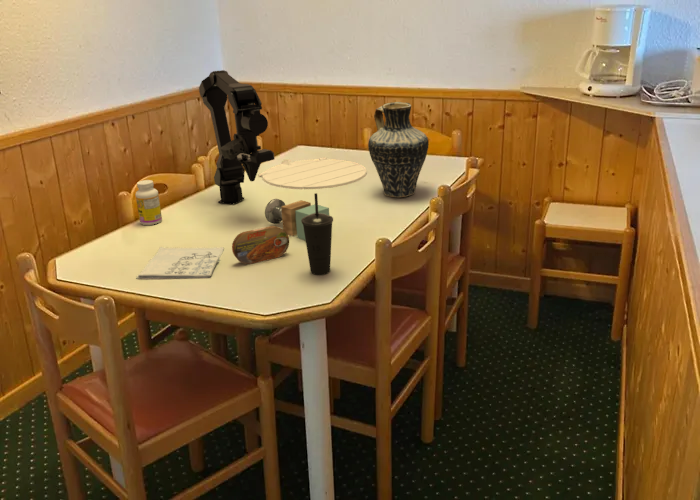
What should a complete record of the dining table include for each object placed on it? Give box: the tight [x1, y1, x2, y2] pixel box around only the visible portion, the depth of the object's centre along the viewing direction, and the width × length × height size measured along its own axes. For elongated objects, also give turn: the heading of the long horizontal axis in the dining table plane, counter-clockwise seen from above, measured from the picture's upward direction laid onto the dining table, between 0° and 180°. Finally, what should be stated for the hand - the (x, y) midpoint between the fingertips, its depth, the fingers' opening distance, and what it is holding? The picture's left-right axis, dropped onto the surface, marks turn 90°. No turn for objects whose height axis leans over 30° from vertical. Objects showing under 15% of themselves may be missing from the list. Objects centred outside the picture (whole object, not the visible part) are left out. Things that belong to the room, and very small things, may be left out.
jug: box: [367, 101, 429, 198], centre depth 214 cm, size 21×19×30 cm
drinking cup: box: [301, 193, 334, 276], centre depth 159 cm, size 8×8×20 cm
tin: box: [231, 225, 290, 265], centre depth 170 cm, size 15×3×8 cm, turn 117°
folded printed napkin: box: [135, 246, 225, 280], centre depth 171 cm, size 19×20×2 cm
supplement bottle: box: [135, 179, 163, 226], centre depth 200 cm, size 7×7×13 cm
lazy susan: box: [257, 156, 367, 190], centre depth 247 cm, size 40×39×3 cm
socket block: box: [295, 203, 330, 242], centre depth 184 cm, size 6×8×8 cm
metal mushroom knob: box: [264, 198, 296, 225], centre depth 192 cm, size 11×7×7 cm
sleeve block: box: [281, 200, 311, 237], centre depth 189 cm, size 4×8×8 cm, turn 136°
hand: (252, 181), depth 199 cm, fingers closed
